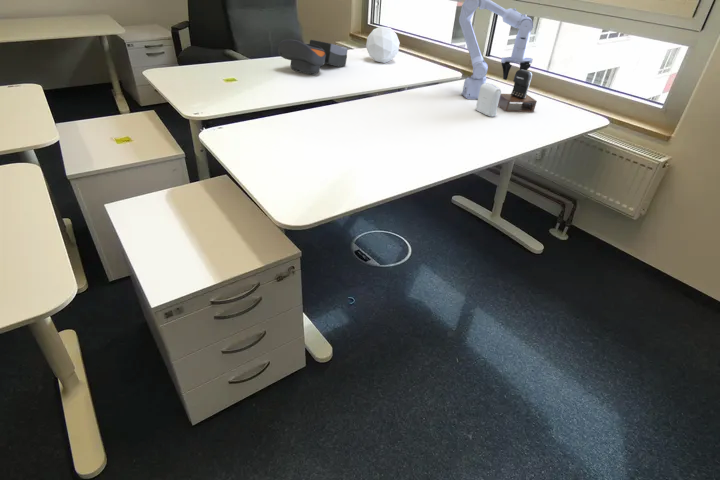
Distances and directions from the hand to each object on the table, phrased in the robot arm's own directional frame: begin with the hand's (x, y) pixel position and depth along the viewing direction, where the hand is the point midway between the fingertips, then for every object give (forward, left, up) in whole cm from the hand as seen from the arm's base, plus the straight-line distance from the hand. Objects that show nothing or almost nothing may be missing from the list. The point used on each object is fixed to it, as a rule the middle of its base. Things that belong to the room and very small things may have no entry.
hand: (512, 79), depth 199 cm
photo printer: (-18, -18, -11) cm, 27 cm away
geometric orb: (-48, +73, -11) cm, 88 cm away
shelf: (0, -10, -10) cm, 14 cm away
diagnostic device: (-88, +50, -11) cm, 102 cm away
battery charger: (0, -10, -6) cm, 11 cm away
